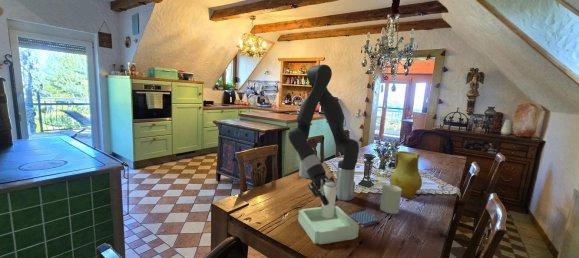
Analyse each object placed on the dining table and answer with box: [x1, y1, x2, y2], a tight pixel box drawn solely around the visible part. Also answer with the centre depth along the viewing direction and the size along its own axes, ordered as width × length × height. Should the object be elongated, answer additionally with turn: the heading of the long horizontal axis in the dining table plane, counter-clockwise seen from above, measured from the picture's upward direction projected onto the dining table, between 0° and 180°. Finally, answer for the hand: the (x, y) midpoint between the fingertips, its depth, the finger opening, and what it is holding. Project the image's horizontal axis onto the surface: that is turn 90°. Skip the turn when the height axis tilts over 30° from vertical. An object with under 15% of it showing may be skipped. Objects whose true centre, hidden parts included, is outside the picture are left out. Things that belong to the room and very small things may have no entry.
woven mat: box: [347, 210, 380, 228], centre depth 118 cm, size 10×11×2 cm
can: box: [379, 184, 402, 215], centre depth 129 cm, size 9×9×12 cm
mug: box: [298, 160, 310, 179], centre depth 174 cm, size 12×9×10 cm
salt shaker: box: [320, 181, 337, 218], centre depth 107 cm, size 5×5×14 cm
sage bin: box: [298, 205, 360, 245], centre depth 109 cm, size 19×19×5 cm
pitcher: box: [389, 150, 423, 199], centre depth 151 cm, size 17×19×25 cm
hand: (331, 202), depth 106 cm, fingers closed on salt shaker, 5 cm apart
